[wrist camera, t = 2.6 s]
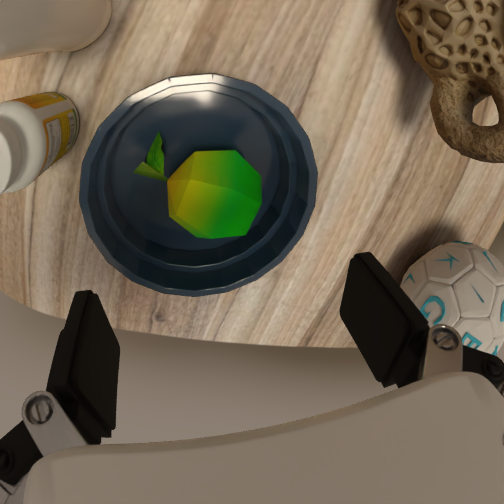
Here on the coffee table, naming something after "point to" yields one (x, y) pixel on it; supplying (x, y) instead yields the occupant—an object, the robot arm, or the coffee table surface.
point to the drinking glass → (50, 25)
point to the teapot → (460, 67)
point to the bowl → (175, 153)
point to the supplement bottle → (34, 137)
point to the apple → (208, 191)
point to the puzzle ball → (460, 292)
